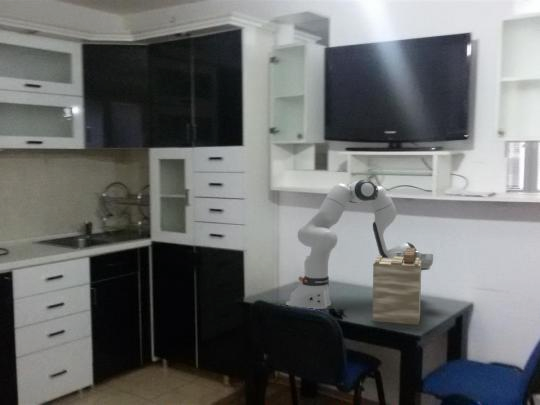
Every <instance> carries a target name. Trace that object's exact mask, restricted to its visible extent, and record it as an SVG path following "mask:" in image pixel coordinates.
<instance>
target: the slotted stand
mask: <svg viewBox="0 0 540 405" xmlns="http://www.w3.org/2000/svg"><path fill="white" fill-rule="evenodd" d="M372 265H373V266H372V269H373V270H372V316H371V317H372V322H380V323H381V322H383V323H395V324H404V325H405V324H406V325H407V324H408V325H414V326H415V325H416V326H417V325H418V326H419V324H420V318H421V301H422V300H421V297H422V296H421V294H422V293H421V291H422V290H421V289H422V288H421V287H422V271H421V260H420V257H416V259H415V260H414V263H413V264H404V257H402V256H394V258H382V255H380V254H379V255H378V256H377V257H376V259H375V260H374V262H373V263H372Z"/></svg>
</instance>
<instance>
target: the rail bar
mask: <svg viewBox="0 0 540 405" xmlns="http://www.w3.org/2000/svg"><path fill="white" fill-rule="evenodd" d="M416 250H417V248H416V247H415V248H407V249H406V251H405V254H404V264H413V263H414V260H415V251H416Z"/></svg>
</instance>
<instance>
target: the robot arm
mask: <svg viewBox="0 0 540 405" xmlns="http://www.w3.org/2000/svg"><path fill="white" fill-rule="evenodd" d="M387 192H388V191H387V190H386V188H385V187H384V186H380V185H375V183H374V182H372V181H371V180H368V179H361V180H355V181H353V182H351V183H349V184H345V183H340V182H339V183H335V184H334V186H333V187H332V188H331V189H330V190H329V192H328V193H327V194H326V197H325V199H324V200H323V202H322V204H321V205H320V208H319V210H318V211H317V212H316V213H315V215H314V216H313V217H312V218H311V219H310V220H309V221H308V222H307V223H306V224H305V225H302V226H301V227H300V228H299V229H298V232H297V239H298V241H299V242H300V243H301V244H302V245H303V246H305V247H308V248H311V249H310V254H309V255H308V256H309V258H307V257H306V258H307V260H306V259H305V260H306V275H305V277H302V276H299V277H298V279H297V280H298V281H300V282H302V283H301V284H300V285H299V286H298V287H296V288H295V289H294V290H293V291H291V294H290V298H289V300H287V301H286V302H285V306H286V305H291V306H299V307H307V308H313V309H312V310H325V309H328V307H330V306H331V305H332V302H331V300H330V294H329V292H330V291H329V286H330V284H329V283H330V282H329V281H330V280H329V259H330V255H331V253H332V250H333V249H335V247H337V243H338V236H337V234H336V232H334V231H333V230H331V229H330V228H332V227H334V225H336V224H337V223H339V221H340V219H341V217H342V216H343V213H344V211H345V209H346V207H347V206H348V204H349V203H354V204H357V203H363V202H367V203H368V204H369V206H370V208H371V209H372V212H373V215H374V221H373V223H372V230H373V235H374V238H375V241H376V242H375V243H376V247H377V250H378V254H379V255H382V258H394V256H402V257H404V254H405V251H406V249H407V248H416V247H415V245H414V244H412V243H410V242H408V241H407V242H406V241H405V242H402V243H401V244H399V245H397V246H395V247H392V248H390V249H387V245H386V242H385V238H384V233H385V231H386V230H387V229H388V227H389V226H390V225H391V224H392V223H393V222H394V221H395V219H396V216H397V208H396V206H395V203H394V201H393V199H392V196H390V197H387V196H385V195H386V193H387ZM416 257H420V260H421V272H423V271H427V270H430V269H431V267H432V265H433V262H434V254H433V253H427V252H426V253H425V252H424V253H423V252H419V251H418V250H417V249H416V251H415V259H416Z"/></svg>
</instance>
